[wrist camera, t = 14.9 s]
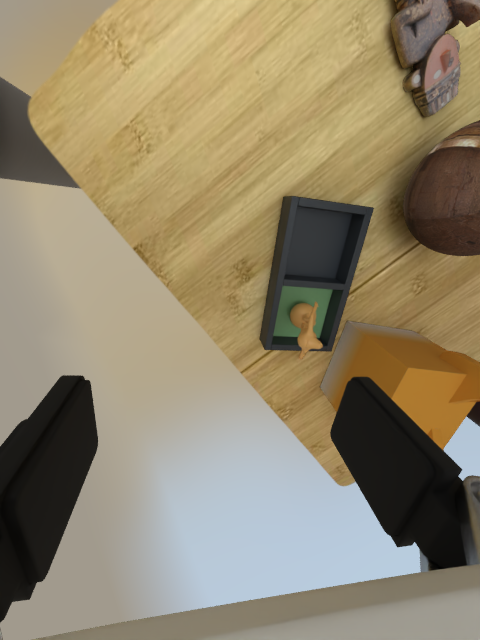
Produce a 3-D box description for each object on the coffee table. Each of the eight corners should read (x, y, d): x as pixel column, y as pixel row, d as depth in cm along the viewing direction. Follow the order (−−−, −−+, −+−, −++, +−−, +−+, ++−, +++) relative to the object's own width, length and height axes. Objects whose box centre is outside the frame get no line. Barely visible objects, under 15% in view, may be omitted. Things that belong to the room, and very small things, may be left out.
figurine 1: (303, 334, 44) (338, 377, 33) (269, 332, 43) (294, 376, 32) (316, 287, 41) (359, 317, 30) (280, 283, 39) (311, 314, 29)
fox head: (402, 401, 56) (501, 495, 38) (316, 394, 51) (383, 498, 33) (444, 327, 49) (589, 398, 31) (350, 311, 44) (457, 384, 26)
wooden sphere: (471, 225, 41) (605, 236, 28) (384, 260, 41) (475, 288, 28) (477, 115, 35) (655, 59, 21) (373, 157, 35) (485, 128, 21)
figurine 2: (461, -206, 20) (498, 74, 29) (413, -135, 25) (458, 89, 34) (382, -128, 21) (441, 118, 30) (350, -74, 26) (410, 126, 35)
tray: (259, 339, 44) (264, 349, 41) (283, 196, 35) (292, 195, 32) (321, 341, 46) (331, 351, 43) (358, 207, 37) (374, 207, 34)
